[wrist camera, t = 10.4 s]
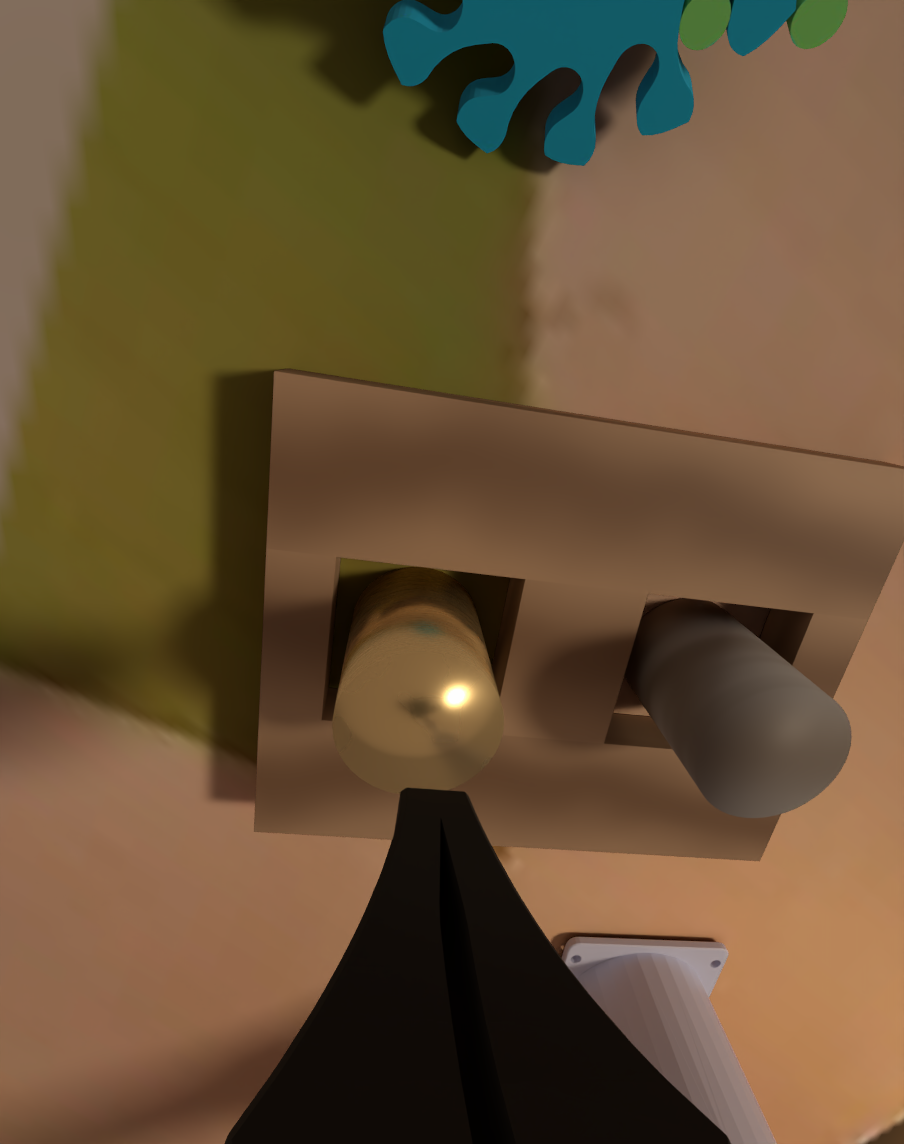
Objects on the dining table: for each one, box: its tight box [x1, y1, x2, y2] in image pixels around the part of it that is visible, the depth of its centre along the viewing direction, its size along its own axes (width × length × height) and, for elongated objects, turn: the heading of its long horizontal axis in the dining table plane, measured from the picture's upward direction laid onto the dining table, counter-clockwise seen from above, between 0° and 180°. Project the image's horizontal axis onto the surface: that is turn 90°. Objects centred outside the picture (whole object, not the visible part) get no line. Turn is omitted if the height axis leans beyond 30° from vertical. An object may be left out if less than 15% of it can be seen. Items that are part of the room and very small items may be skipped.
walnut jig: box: [254, 369, 904, 861], centre depth 19 cm, size 16×20×6 cm
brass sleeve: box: [332, 567, 504, 794], centre depth 18 cm, size 4×4×6 cm
